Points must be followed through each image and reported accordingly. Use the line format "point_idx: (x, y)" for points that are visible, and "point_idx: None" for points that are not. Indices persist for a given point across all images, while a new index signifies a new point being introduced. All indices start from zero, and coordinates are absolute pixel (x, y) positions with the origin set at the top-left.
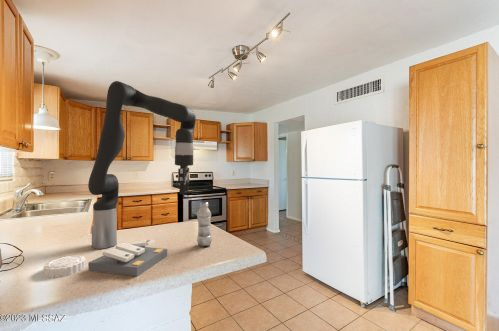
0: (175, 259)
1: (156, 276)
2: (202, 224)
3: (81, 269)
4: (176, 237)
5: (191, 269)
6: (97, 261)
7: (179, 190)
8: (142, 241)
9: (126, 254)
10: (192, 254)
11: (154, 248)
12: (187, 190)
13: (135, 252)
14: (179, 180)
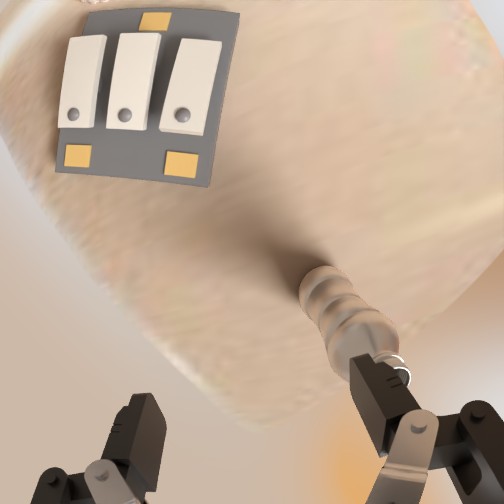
0: (183, 228)
1: (73, 222)
2: (321, 327)
3: (104, 1)
4: (406, 150)
5: (124, 300)
6: (93, 28)
7: (126, 414)
8: (194, 86)
9: (74, 110)
10: (231, 270)
11: (208, 135)
12: (352, 396)
13: (108, 116)
14: (48, 500)
